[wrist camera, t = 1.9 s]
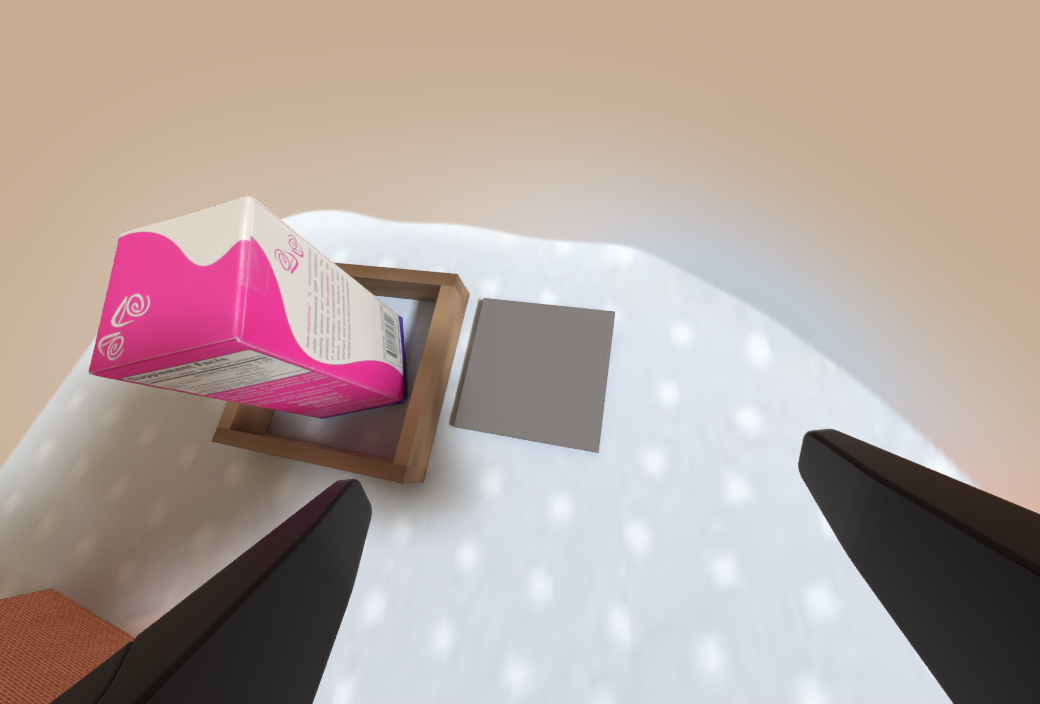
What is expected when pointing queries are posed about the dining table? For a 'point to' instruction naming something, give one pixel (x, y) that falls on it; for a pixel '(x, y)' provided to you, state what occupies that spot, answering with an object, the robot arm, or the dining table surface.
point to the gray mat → (538, 373)
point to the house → (50, 646)
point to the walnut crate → (426, 400)
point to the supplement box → (246, 317)
